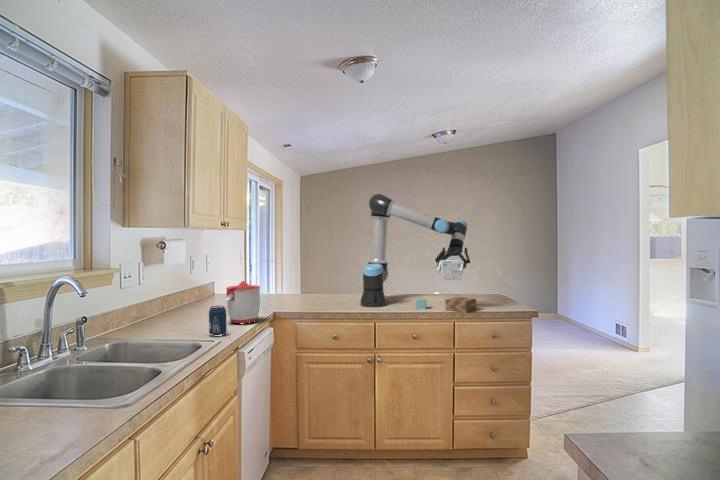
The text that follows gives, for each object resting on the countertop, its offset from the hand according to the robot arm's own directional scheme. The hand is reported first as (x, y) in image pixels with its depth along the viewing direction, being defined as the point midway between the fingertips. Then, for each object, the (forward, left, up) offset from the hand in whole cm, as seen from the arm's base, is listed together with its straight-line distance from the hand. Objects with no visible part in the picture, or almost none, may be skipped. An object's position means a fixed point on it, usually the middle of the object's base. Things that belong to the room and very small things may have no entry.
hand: (449, 271), depth 238 cm
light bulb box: (0, +2, -5) cm, 5 cm away
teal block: (-15, -4, -20) cm, 26 cm away
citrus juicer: (-79, -75, -20) cm, 111 cm away
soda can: (-70, -99, -20) cm, 123 cm away
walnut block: (+6, 0, -21) cm, 21 cm away
